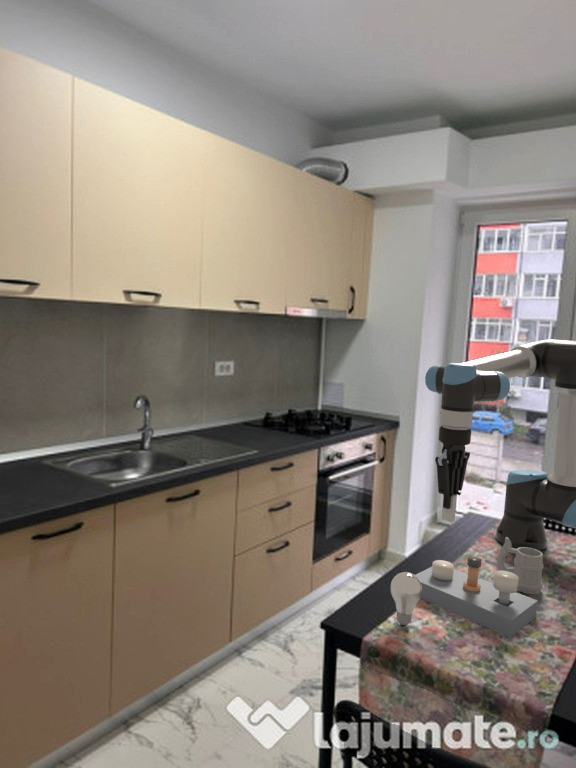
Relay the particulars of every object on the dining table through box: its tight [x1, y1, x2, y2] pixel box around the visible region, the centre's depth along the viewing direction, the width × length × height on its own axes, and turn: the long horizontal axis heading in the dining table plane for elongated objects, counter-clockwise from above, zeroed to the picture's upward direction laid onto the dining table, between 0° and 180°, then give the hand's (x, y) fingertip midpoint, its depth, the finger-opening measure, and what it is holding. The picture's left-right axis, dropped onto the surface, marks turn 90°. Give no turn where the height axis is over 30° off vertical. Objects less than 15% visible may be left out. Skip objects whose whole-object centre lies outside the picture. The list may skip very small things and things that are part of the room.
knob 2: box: [493, 570, 518, 607], centre depth 131 cm, size 5×5×7 cm
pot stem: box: [463, 556, 482, 593], centre depth 137 cm, size 4×4×7 cm
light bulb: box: [389, 571, 422, 627], centre depth 126 cm, size 7×7×12 cm
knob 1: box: [431, 559, 455, 581], centre depth 143 cm, size 5×5×7 cm
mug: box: [496, 537, 544, 595], centre depth 149 cm, size 8×12×12 cm, turn 53°
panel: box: [414, 566, 539, 638], centre depth 137 cm, size 14×26×4 cm, turn 45°
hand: (448, 519), depth 141 cm, fingers closed
